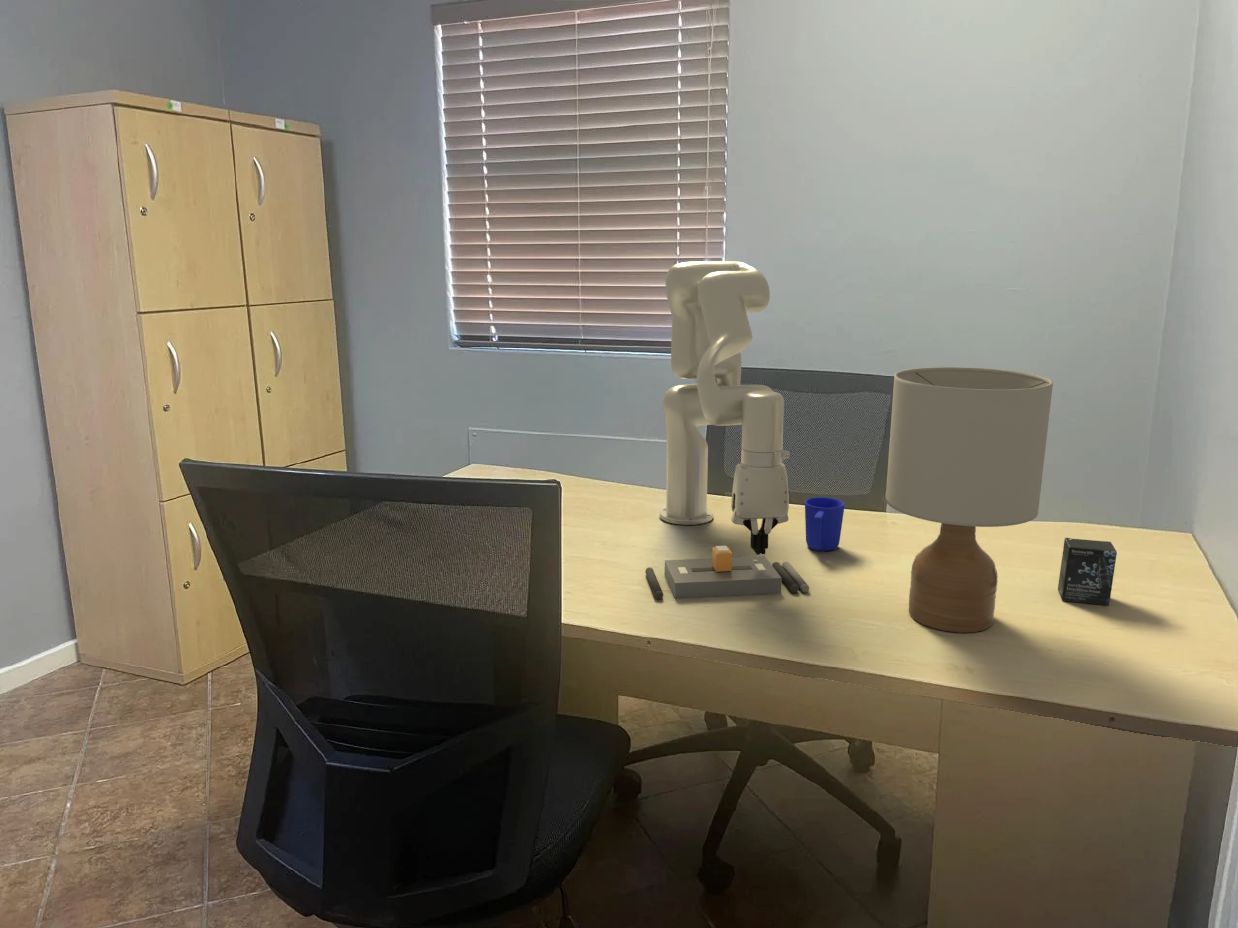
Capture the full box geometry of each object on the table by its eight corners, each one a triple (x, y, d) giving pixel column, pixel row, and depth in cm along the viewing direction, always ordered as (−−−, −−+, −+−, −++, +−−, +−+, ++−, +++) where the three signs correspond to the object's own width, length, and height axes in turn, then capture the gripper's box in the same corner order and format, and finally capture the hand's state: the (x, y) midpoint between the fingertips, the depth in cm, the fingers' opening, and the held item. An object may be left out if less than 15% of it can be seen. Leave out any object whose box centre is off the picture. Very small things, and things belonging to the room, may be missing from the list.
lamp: (863, 590, 169) (878, 367, 159) (993, 591, 168) (1017, 367, 158) (898, 646, 146) (918, 389, 135) (1049, 648, 145) (1080, 390, 135)
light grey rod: (780, 567, 180) (781, 560, 180) (788, 567, 181) (789, 560, 180) (801, 593, 167) (802, 585, 167) (810, 593, 167) (810, 585, 167)
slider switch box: (664, 574, 177) (664, 559, 176) (763, 570, 179) (764, 555, 178) (675, 598, 166) (675, 582, 165) (781, 593, 168) (781, 577, 167)
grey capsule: (771, 568, 180) (771, 560, 180) (779, 567, 180) (779, 560, 180) (791, 594, 167) (791, 586, 167) (799, 593, 167) (800, 585, 167)
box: (1061, 601, 163) (1068, 546, 161) (1057, 590, 169) (1063, 536, 166) (1110, 606, 161) (1117, 550, 158) (1103, 595, 166) (1111, 540, 164)
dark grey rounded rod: (644, 574, 177) (644, 566, 177) (652, 573, 178) (652, 566, 177) (655, 600, 164) (655, 592, 164) (663, 600, 165) (663, 592, 164)
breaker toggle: (711, 564, 173) (712, 545, 172) (727, 564, 174) (727, 544, 173) (715, 571, 170) (716, 551, 169) (731, 570, 170) (732, 550, 169)
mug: (795, 556, 187) (797, 510, 184) (806, 539, 197) (808, 495, 195) (835, 562, 184) (838, 515, 181) (844, 543, 194) (847, 499, 192)
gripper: (794, 452, 171) (791, 544, 176) (717, 455, 170) (716, 547, 174) (807, 461, 164) (803, 557, 168) (726, 464, 163) (724, 560, 167)
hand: (759, 552), depth 171 cm, fingers closed
